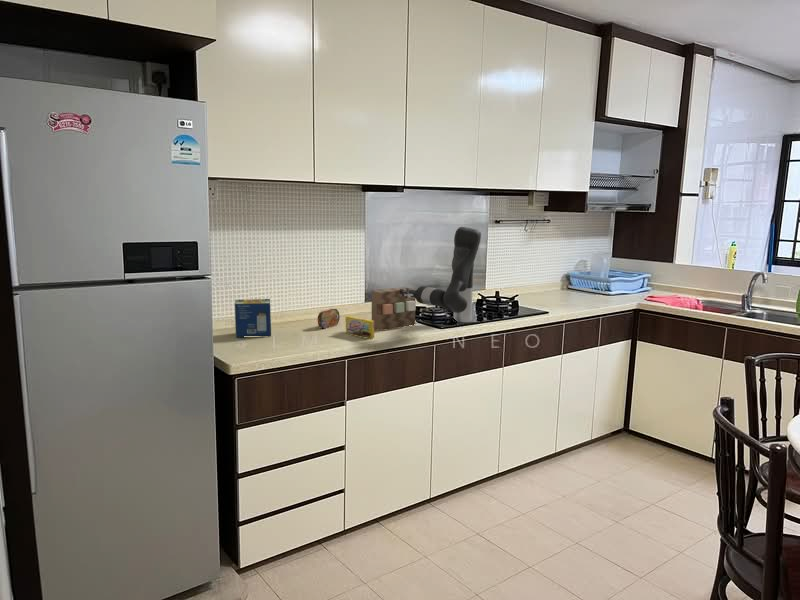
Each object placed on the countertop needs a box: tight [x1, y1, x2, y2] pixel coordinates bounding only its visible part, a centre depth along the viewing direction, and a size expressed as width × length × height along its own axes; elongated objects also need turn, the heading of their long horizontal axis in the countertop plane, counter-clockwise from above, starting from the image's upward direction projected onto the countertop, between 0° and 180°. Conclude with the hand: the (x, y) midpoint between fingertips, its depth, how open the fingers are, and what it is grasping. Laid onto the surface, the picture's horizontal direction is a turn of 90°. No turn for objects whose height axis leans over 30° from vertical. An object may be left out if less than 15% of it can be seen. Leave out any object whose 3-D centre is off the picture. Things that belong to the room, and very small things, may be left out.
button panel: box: [371, 286, 416, 331], centre depth 283 cm, size 21×7×18 cm, turn 128°
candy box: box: [345, 315, 375, 340], centre depth 263 cm, size 16×2×8 cm, turn 50°
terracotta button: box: [382, 303, 393, 315], centre depth 275 cm, size 4×3×4 cm
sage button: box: [394, 302, 404, 313], centre depth 279 cm, size 4×3×4 cm
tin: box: [317, 308, 341, 330], centre depth 282 cm, size 15×3×8 cm, turn 151°
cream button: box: [406, 300, 417, 311], centre depth 284 cm, size 4×3×4 cm
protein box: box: [234, 298, 272, 338], centre depth 263 cm, size 10×15×16 cm
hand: (403, 291), depth 264 cm, fingers open, 3 cm apart
